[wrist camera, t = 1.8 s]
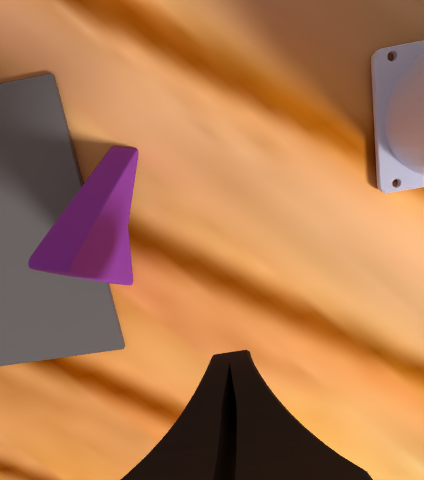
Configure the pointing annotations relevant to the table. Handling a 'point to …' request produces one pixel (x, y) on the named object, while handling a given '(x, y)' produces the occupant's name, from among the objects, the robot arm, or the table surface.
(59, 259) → the arrowhead
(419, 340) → the table surface
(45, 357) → the mat
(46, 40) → the table surface
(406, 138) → the robot arm
